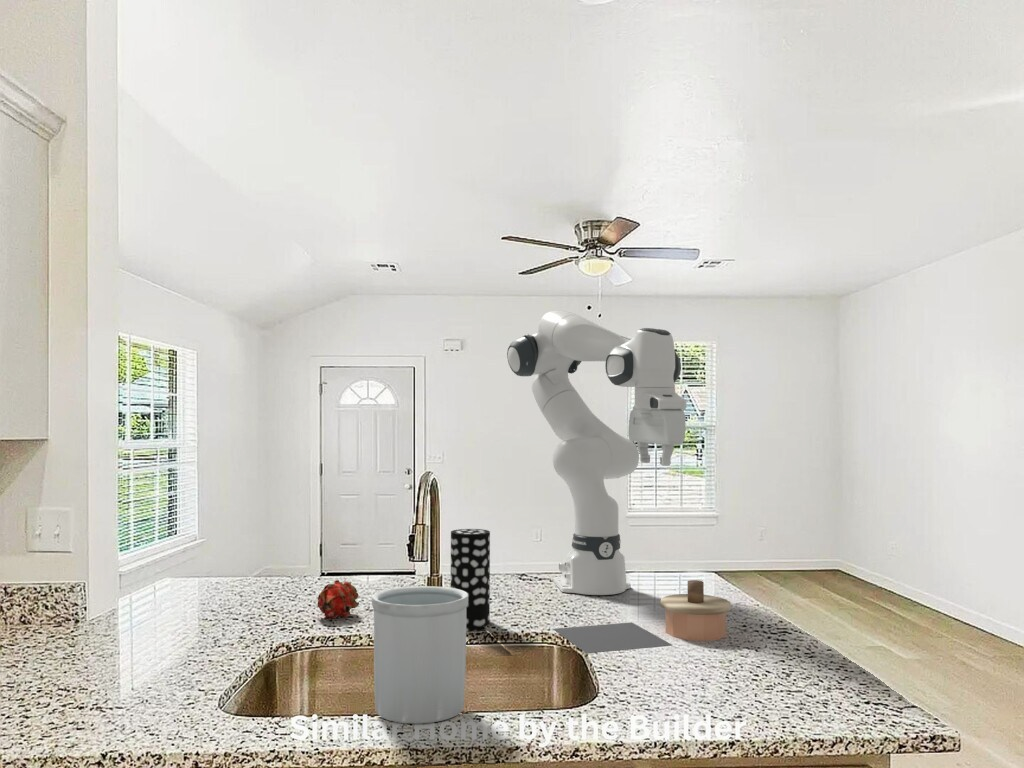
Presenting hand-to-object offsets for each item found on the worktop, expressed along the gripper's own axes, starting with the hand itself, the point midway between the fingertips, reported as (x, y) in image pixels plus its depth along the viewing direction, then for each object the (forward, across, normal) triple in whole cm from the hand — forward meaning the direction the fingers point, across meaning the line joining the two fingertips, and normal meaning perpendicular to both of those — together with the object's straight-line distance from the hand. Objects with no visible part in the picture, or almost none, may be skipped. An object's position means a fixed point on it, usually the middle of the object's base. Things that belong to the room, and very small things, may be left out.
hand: (655, 464), depth 187 cm
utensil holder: (+34, +38, -60) cm, 79 cm away
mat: (+34, +12, -16) cm, 40 cm away
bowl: (+34, +14, +2) cm, 37 cm away
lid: (+28, +14, +2) cm, 31 cm away
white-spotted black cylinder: (+34, -7, -40) cm, 53 cm away
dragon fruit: (+34, -23, -66) cm, 78 cm away
